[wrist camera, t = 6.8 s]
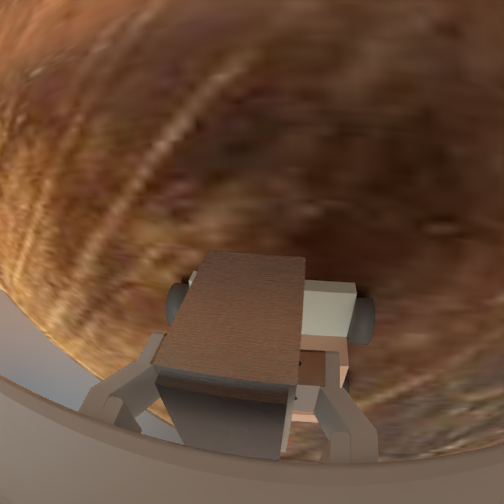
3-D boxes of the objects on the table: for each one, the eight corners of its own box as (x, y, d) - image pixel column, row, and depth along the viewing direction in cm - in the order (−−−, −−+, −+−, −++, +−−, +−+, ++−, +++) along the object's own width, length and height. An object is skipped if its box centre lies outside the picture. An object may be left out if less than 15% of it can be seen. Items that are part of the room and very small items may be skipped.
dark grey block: (208, 250, 13) (146, 378, 8) (305, 257, 13) (295, 400, 7) (218, 333, 16) (181, 447, 11) (297, 341, 15) (284, 463, 10)
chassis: (178, 269, 28) (157, 304, 24) (371, 283, 26) (380, 324, 22) (199, 377, 37) (188, 410, 32) (340, 391, 34) (340, 427, 30)
